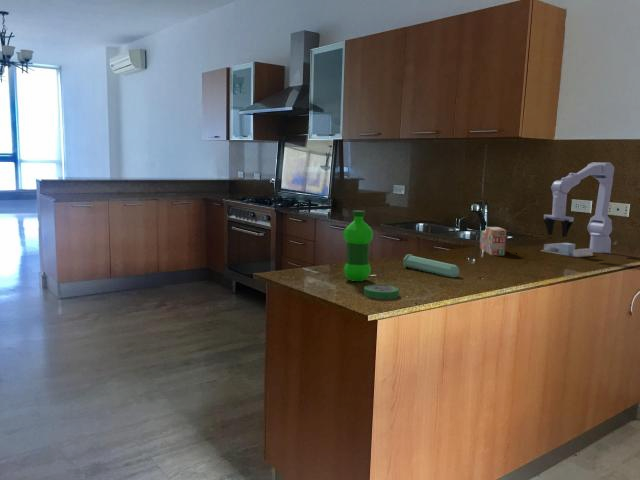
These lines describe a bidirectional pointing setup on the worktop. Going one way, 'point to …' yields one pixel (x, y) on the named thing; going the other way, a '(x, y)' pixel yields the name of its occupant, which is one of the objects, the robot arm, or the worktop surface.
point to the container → (430, 266)
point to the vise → (575, 252)
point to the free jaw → (551, 247)
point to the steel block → (566, 248)
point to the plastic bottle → (357, 248)
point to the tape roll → (381, 291)
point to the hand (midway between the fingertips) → (557, 235)
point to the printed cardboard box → (493, 241)
